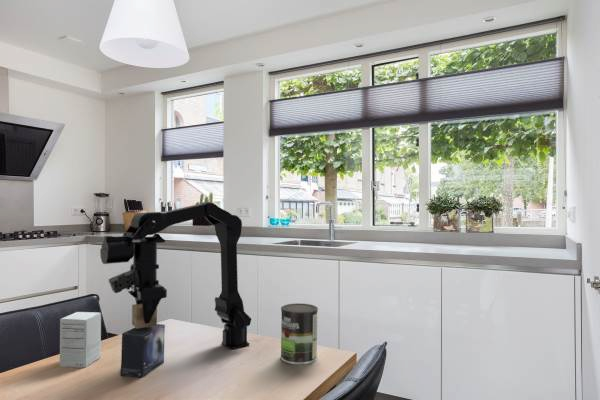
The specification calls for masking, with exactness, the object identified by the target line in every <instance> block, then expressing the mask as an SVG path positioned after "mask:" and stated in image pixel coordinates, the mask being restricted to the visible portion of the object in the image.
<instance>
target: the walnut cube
mask: <svg viewBox="0 0 600 400" xmlns="http://www.w3.org/2000/svg"><path fill="white" fill-rule="evenodd" d="M131 324H132V326H133V328H136V329H138V328H144V327H151V326H157V324H158V307H157V308H156V310H155V312H154V314H153V316H152V318H151V320H150V323H145V322H144V316H143V310H142V304H136V303H135V304H132V305H131Z"/></svg>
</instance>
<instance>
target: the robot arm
mask: <svg viewBox="0 0 600 400" xmlns="http://www.w3.org/2000/svg"><path fill="white" fill-rule="evenodd" d="M200 218H201V219H202V218H205V220H206V221H207V222H209V224H211V225H213V227H214V231H215V235H216V238H217V240H218V242H219V246H220V275H221V278H220V279H221V292H220V294H219V296H218V297H217V296H216V297H215V298H214V303H215V304H214V305H215V306H214V307H215V308H214V312H216V315H217V316H218V317H219V318H220V320H221V323H223V324H224V325H223V330H222V341H221V344H223V345H224V346H225V347H227V348H228V349H231V350H232V349H237V348H241V347H246V346H249V345H250V342H248V327H249V326H250V325H251V323H252V318H251V316H249V315H248V314H247V313H246V312H245V308H244V307H245V306H244V302H243V301H244V300H243V298H242V297H241V295H240V292H239V288H238V287H239V285H238V284H239V283H238V282H239V281H238V280H239V279H238V243H239V240H240V238H241V236H242V228H243V222H242V219H241V218H240V217H239V216H238V215H236V214H231V212H229V211H227V210H225V209H223V208H221V207H219V206H218V205H217V204H215V203H214V202H212V201H206V202H205V201H204V202H201V203H198V204H192V205H189V206H184V207H181V208H180V207H179V208H176V209H171V210H170V209H169V210H167V211H149V212H148V211H146V212H145V211H144V212H138V213H135V214H134V215H133V217H132V218H131V221H130V225H129V226H128V227H127V229H126V230H125V231H124V233H123V234H122V235H121V236H120V235H119V236H118V235H117V236H112V235H104V237H103V241H102V243H101V248H100V250H99V252H100V253H99V254H100V255H99V256H100V260H101V262H102V264H104V265H109V264H119V263H129V262H130V260H132V259H133V262H132V263H131V265H130V267H129V270H128V271H125V272H122V273H119V274H117V275H115V276H113V277H110V278H109V279H108V283H109V285H110V289H111V290H112V292H113V293H114V294H118V293H120V292H122V291H123V290H126V291H127V290H128V293H129V295H131V296H132V298H134V301H135V304H142V310H143V316H144V322H145V323H150V320H151V318H152V316H153V314H154V312H155V310H156V308H157V309H158V306H159V304H160V302H161V300H162V299H165V298H168V297H167V296H168V293H167V292H168V290H167V289H166V288H165V287H164V286H163V285H161V284H159V279H157V278H158V277H157V276H158V275H157V273H158V272H157V270H159V268H160V265H159V264H158V259H157V258H158V254H157V253H158V244H162V243H165V242H166V239H164V238H163V237H162V236H161V235H160V234H159V233H161V232H162V231H164V230H166V229H167V228H169V227H171V226H173V225H176V224H177V225H178V224H180V223H184V222H189V221H193V220H197V219H200ZM130 289H131V290H130Z"/></svg>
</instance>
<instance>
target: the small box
mask: <svg viewBox="0 0 600 400" xmlns="http://www.w3.org/2000/svg"><path fill="white" fill-rule="evenodd" d="M165 328H166V325H165V324H162V323H161V324H160V323H157V326H151V327H144V328H138V329H136V328H135V327H133V328H131V329H129V330H126V331H125V332H123V333H122V334H121V357H120V359H121V360H120V373H119V374H120V376H128V377H134V378H135V377H136V378H143V377H145V376H146V375H147V374H149V373H150V372H152V371H153V370H155V369H156V368H158V367H159V366H161V365H162V364H164V362H165V333H166V329H165Z"/></svg>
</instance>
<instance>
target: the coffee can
mask: <svg viewBox="0 0 600 400" xmlns="http://www.w3.org/2000/svg"><path fill="white" fill-rule="evenodd" d="M280 311H281V332H280V333H281V334H280V335H281V336H280V338H281V339H280V340H281V341H280V344H281V345H280V360H281V361H282V362H284V363H286V364H289V365H293V366H294V365H296V366H297V365H298V366H303V365H305V366H306V365H310V364H312V363H314V362H316V361H317V359H318V357H317V356H318V355H317V354H318V311H319V308H318V306H317V305H313V304H310V303H289V304H285V305H282V306H281V307H280Z"/></svg>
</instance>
